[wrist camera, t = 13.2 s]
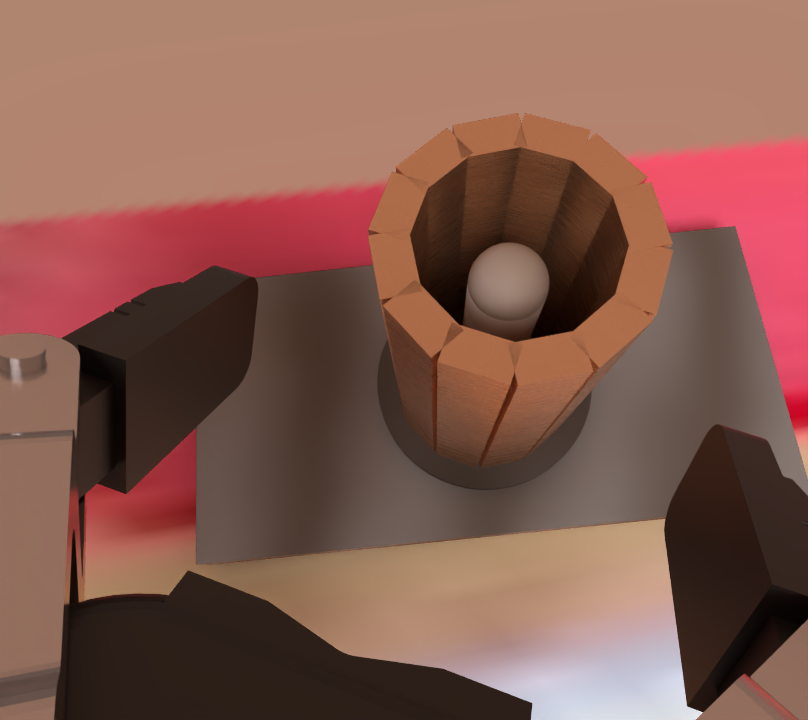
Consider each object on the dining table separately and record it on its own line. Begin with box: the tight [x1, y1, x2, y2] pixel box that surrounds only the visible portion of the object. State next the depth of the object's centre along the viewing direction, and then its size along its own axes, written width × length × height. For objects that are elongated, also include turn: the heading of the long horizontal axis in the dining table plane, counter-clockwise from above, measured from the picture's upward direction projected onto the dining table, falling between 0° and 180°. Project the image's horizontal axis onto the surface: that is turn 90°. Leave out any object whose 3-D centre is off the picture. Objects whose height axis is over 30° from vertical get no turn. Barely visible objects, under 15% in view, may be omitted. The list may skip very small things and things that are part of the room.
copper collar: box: [368, 113, 673, 468], centre depth 17 cm, size 6×6×10 cm
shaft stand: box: [196, 226, 808, 565], centre depth 19 cm, size 20×10×11 cm, turn 96°
